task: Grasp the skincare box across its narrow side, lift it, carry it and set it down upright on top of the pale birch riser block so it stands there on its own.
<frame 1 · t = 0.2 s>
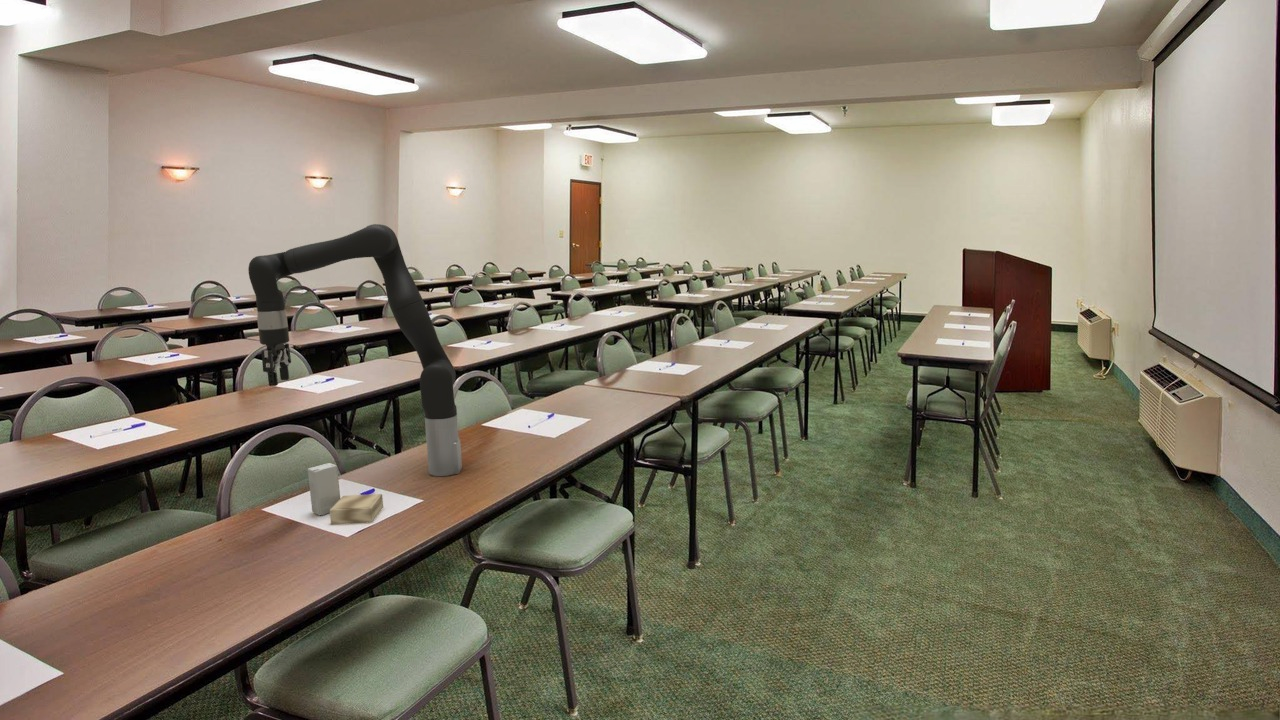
hand: (279, 382, 209), 29 cm above the table, fingers open, 8 cm apart
skincare box: (326, 512, 189), on the table
birch riser: (358, 516, 186), on the table
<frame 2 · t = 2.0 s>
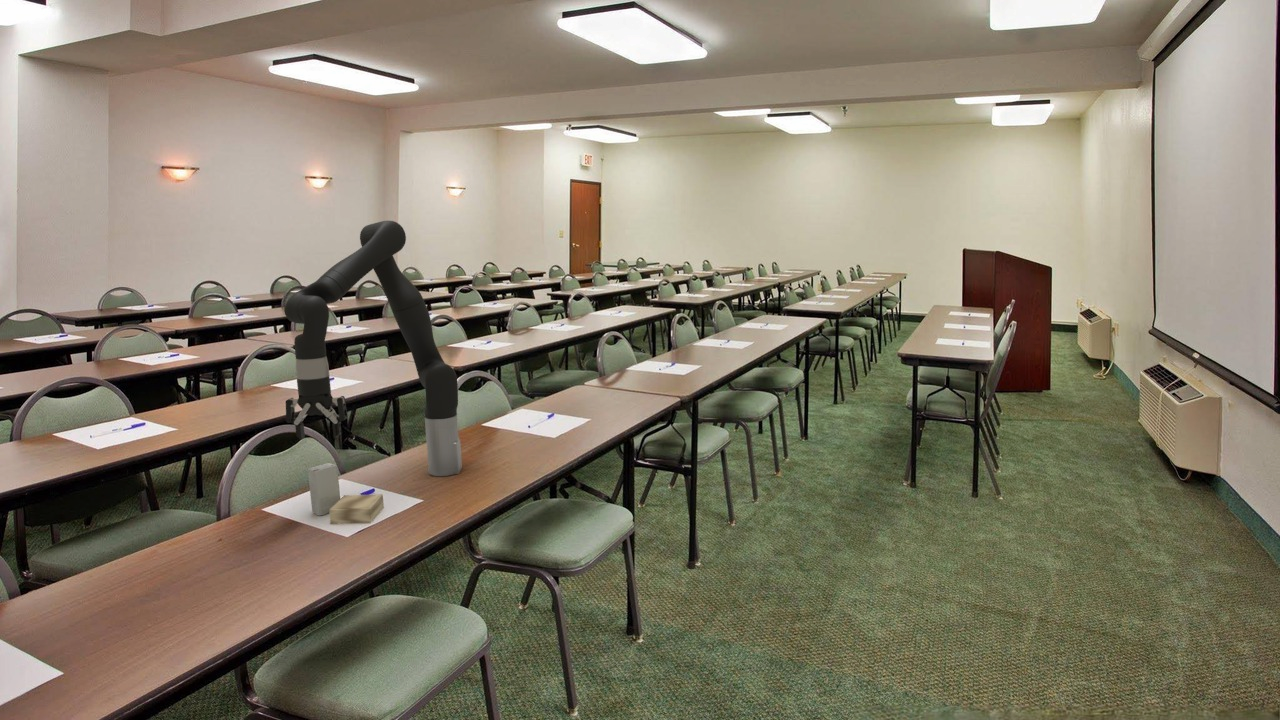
hand: (319, 437, 186), 20 cm above the table, fingers open, 8 cm apart
nothing on the table moved.
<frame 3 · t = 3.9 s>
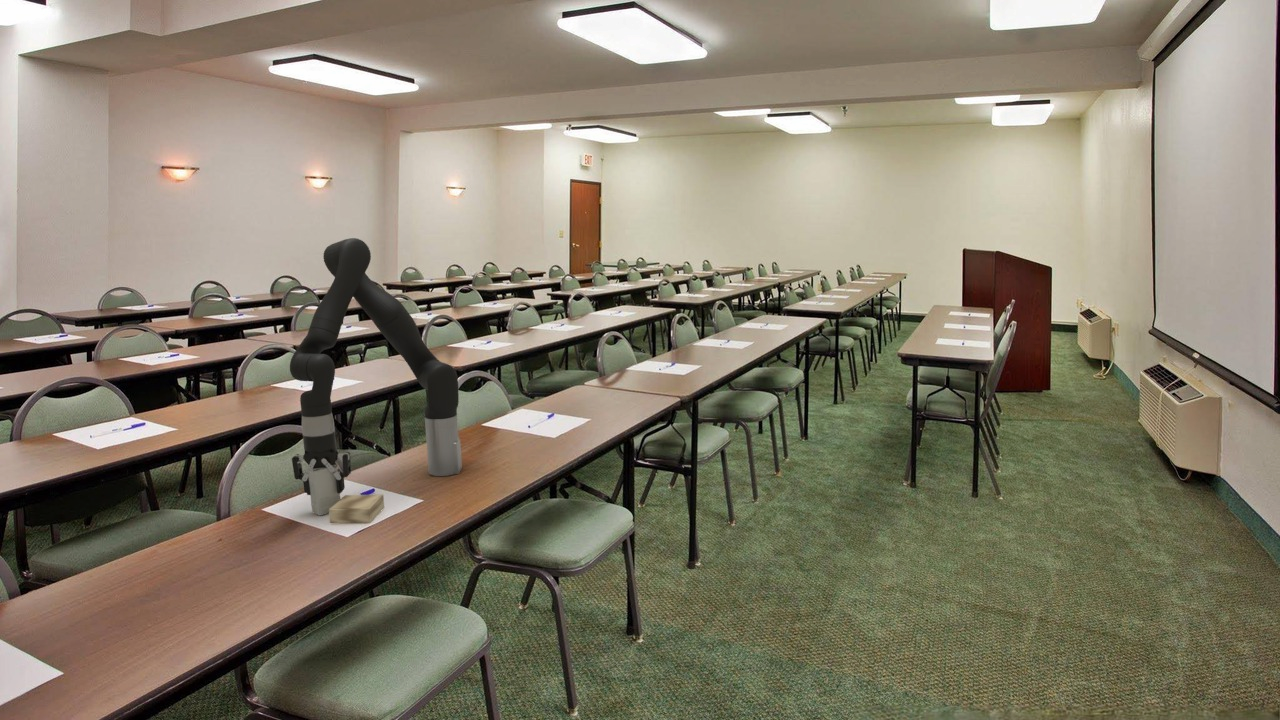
hand: (324, 493, 188), 5 cm above the table, fingers closed on skincare box, 7 cm apart
skincare box: (326, 512, 189), on the table, touching gripper
everything else where it was.
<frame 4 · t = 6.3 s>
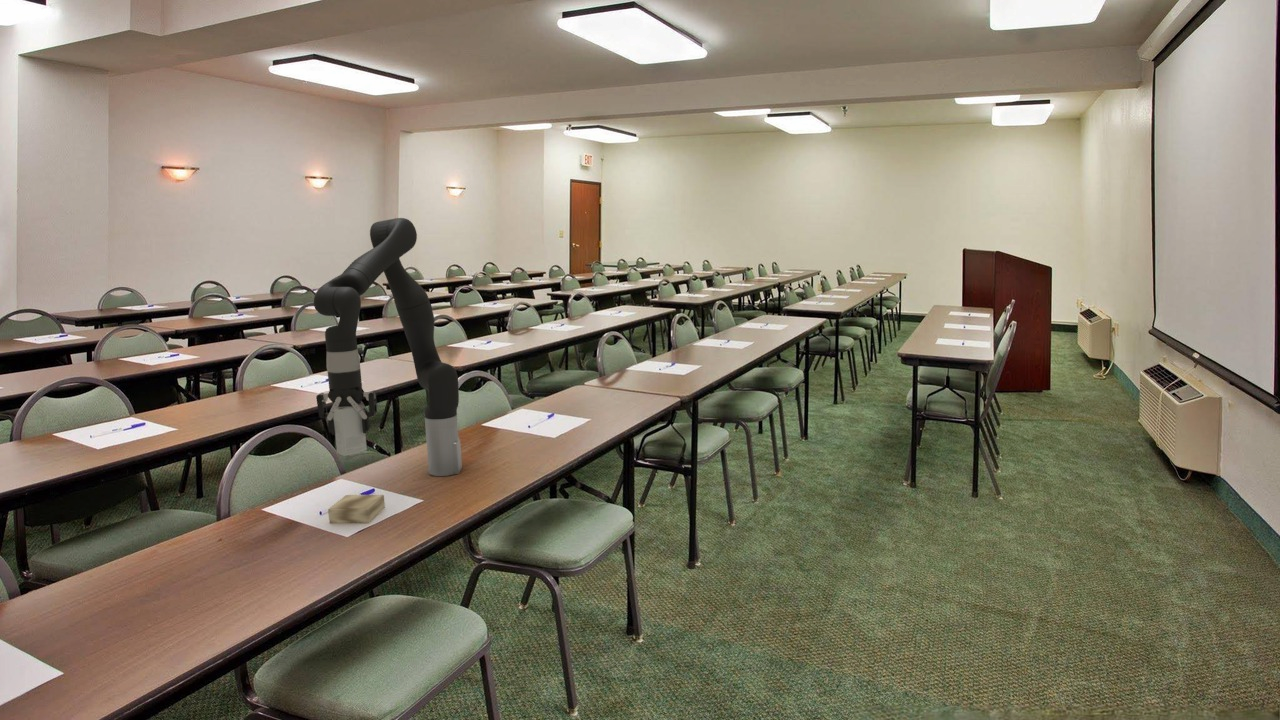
hand: (350, 433, 182), 22 cm above the table, fingers closed on skincare box, 7 cm apart
skincare box: (352, 453, 183), point 16 cm above the table, touching gripper
everything else where it was.
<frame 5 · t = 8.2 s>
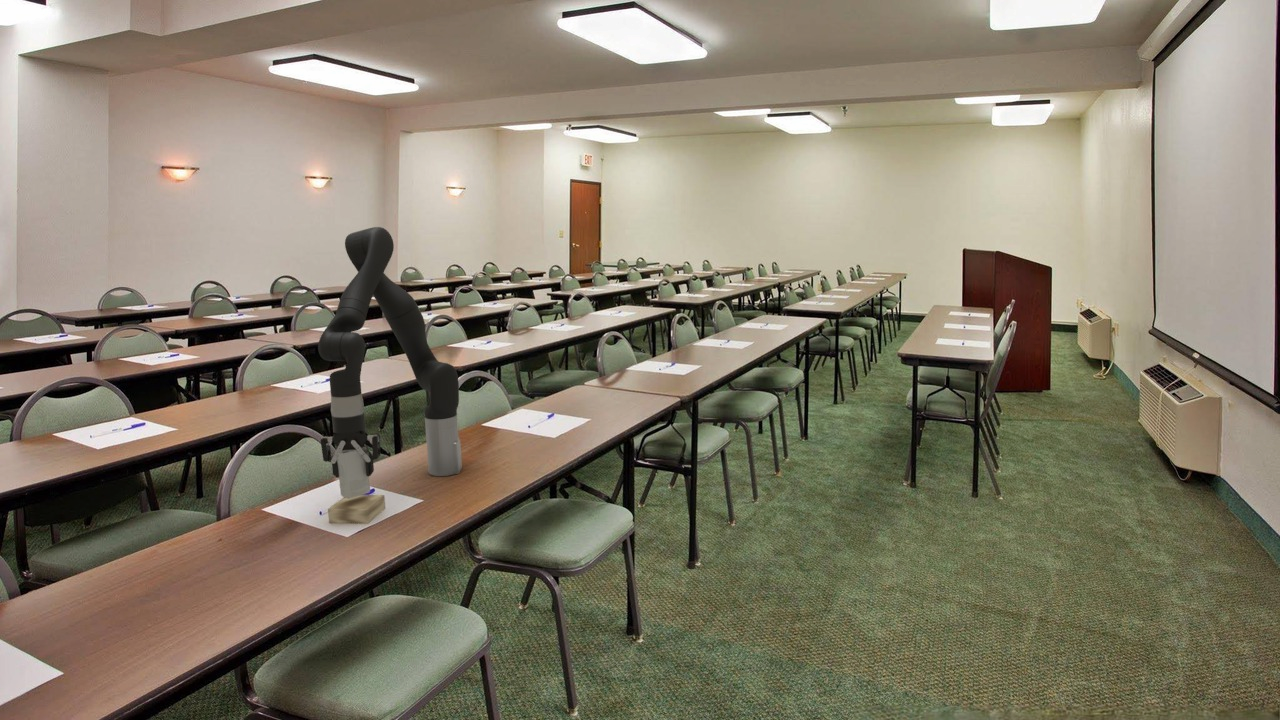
hand: (353, 475, 184), 10 cm above the table, fingers closed on skincare box, 7 cm apart
skincare box: (355, 495, 185), point 5 cm above the table, touching gripper
everything else where it was.
when the fingers open (10 cm above the table, at t = 9.1 s): skincare box moves 1 cm, resting on birch riser.
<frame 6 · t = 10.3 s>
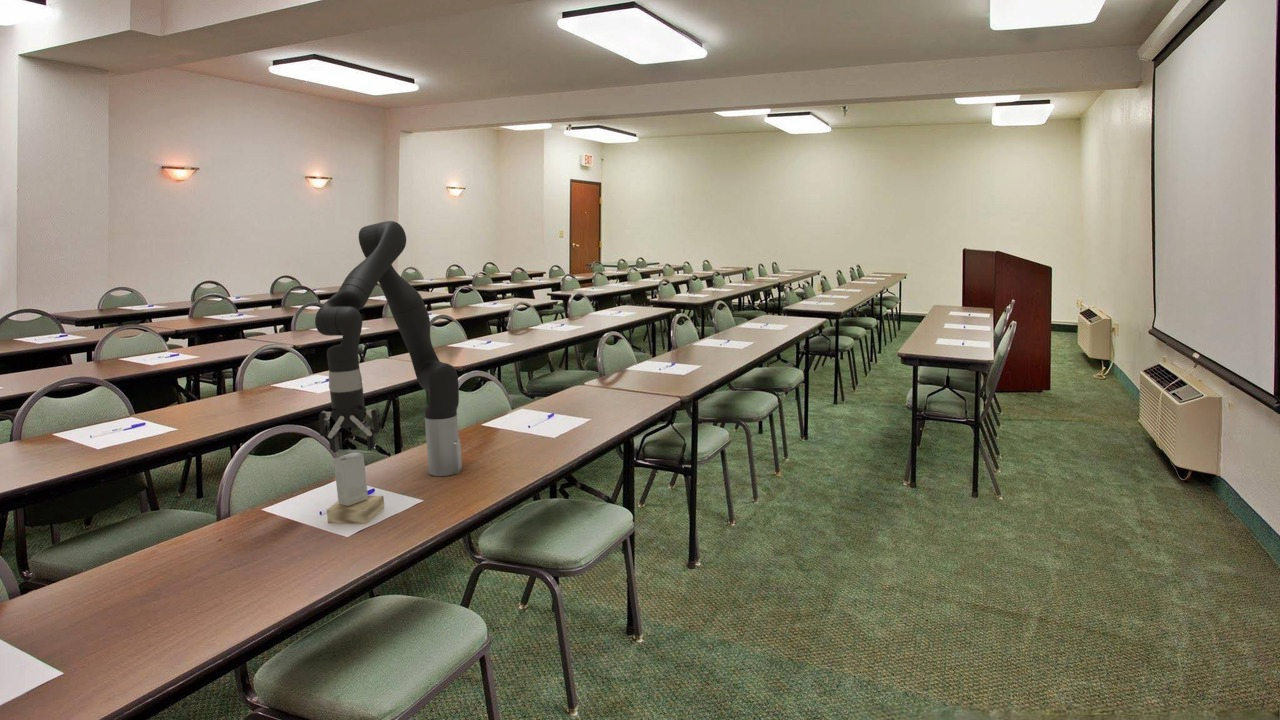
hand: (353, 450, 183), 17 cm above the table, fingers open, 8 cm apart
skincare box: (353, 502, 185), point 3 cm above the table, touching birch riser
birch riser: (357, 517, 186), on the table, touching skincare box
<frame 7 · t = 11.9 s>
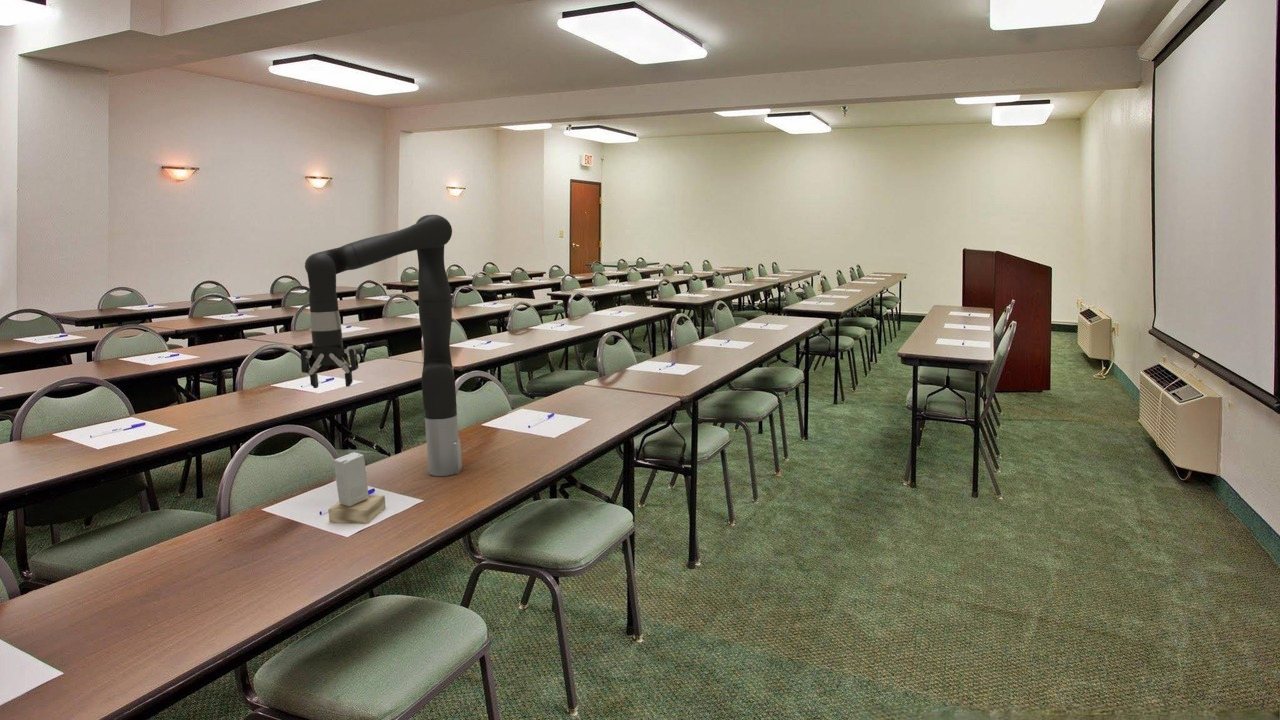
hand: (332, 386, 200), 29 cm above the table, fingers open, 8 cm apart
skincare box: (354, 501, 185), point 4 cm above the table
birch riser: (358, 517, 186), on the table
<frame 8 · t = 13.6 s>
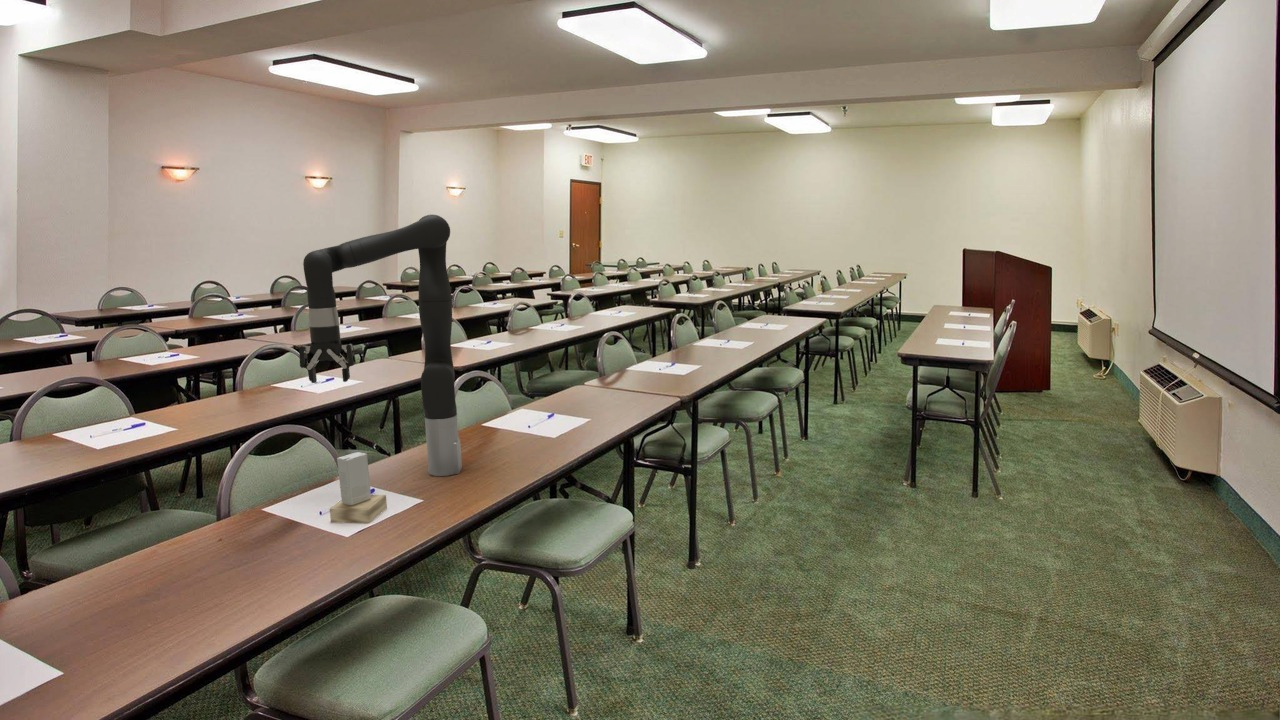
hand: (329, 381, 203), 30 cm above the table, fingers open, 8 cm apart
skincare box: (356, 502, 185), point 4 cm above the table, touching birch riser
birch riser: (359, 516, 186), on the table, touching skincare box
at the end: skincare box inside the target area on the birch riser (0.5 cm from its centre), point 4.0 cm above the birch riser's base; skincare box tilted 1°; the gripper is holding nothing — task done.
